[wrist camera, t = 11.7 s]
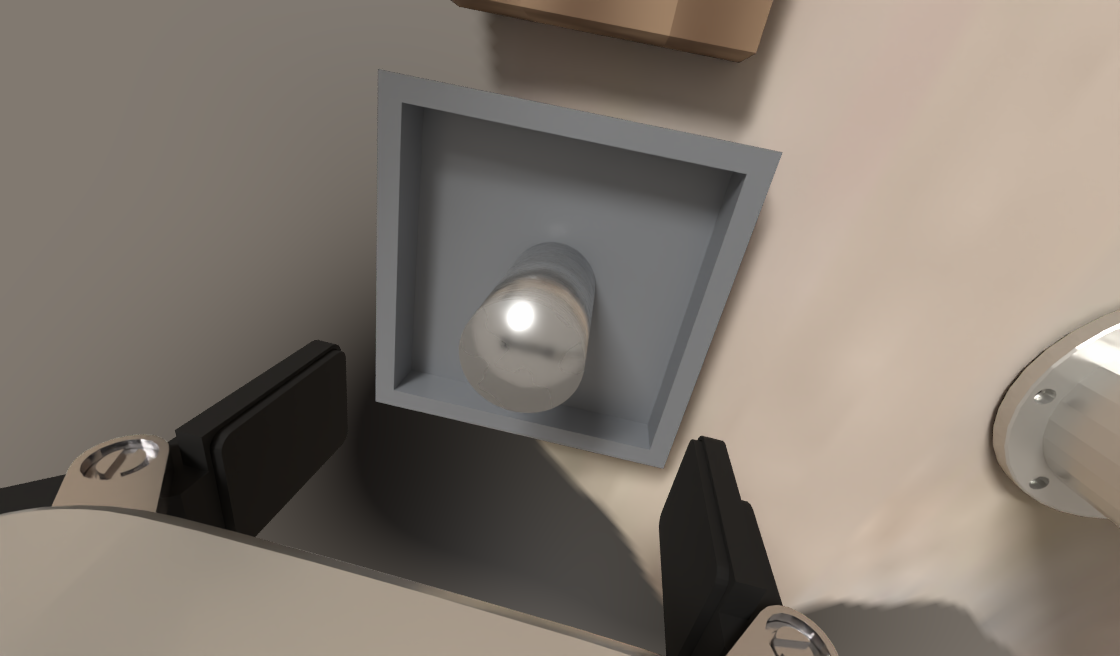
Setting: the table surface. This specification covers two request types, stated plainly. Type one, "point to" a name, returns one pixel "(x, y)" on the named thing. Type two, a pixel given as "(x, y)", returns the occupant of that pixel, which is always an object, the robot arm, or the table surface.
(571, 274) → the pin
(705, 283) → the tray
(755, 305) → the table surface
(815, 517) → the table surface
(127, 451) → the robot arm
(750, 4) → the pin block
